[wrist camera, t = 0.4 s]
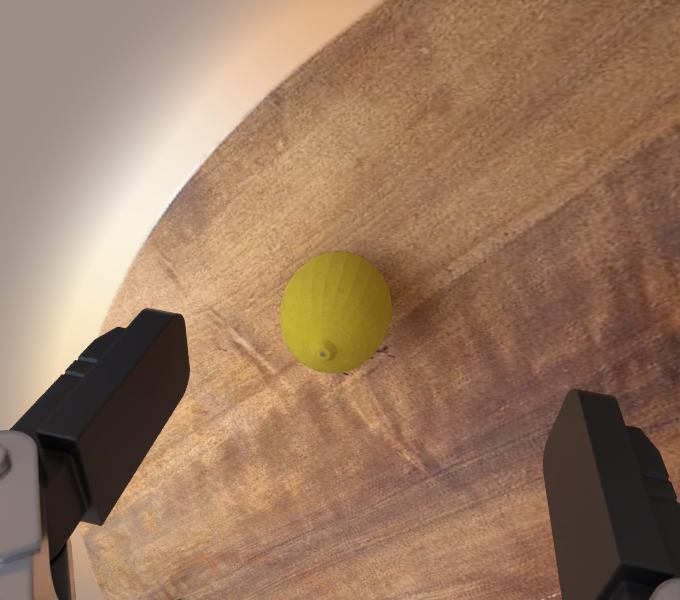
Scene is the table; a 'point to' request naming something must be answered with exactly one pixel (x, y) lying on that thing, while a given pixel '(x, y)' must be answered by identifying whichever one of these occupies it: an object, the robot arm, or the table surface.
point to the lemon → (335, 312)
